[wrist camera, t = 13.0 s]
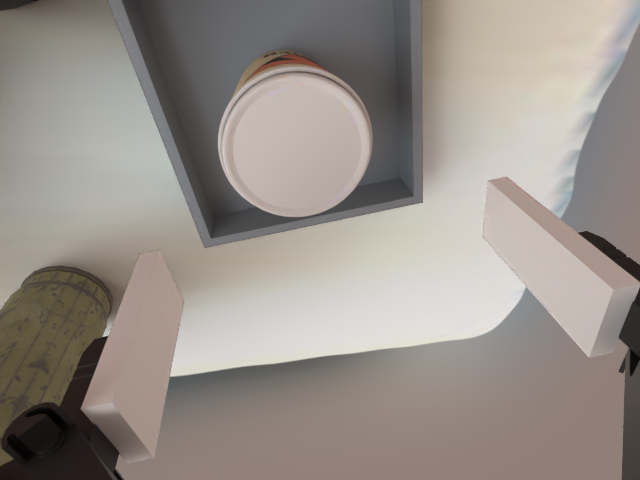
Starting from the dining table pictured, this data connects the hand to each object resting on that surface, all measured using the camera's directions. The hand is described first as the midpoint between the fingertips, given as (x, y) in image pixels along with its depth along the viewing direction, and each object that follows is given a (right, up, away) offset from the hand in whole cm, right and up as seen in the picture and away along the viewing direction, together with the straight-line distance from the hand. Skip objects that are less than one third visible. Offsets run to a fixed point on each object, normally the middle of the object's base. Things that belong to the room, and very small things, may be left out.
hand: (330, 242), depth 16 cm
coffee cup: (-4, +12, +18) cm, 22 cm away
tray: (-3, +12, +18) cm, 22 cm away
